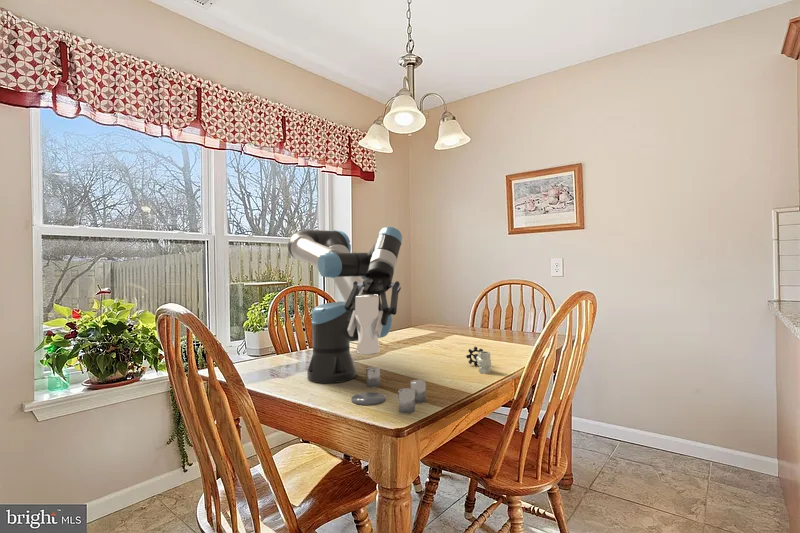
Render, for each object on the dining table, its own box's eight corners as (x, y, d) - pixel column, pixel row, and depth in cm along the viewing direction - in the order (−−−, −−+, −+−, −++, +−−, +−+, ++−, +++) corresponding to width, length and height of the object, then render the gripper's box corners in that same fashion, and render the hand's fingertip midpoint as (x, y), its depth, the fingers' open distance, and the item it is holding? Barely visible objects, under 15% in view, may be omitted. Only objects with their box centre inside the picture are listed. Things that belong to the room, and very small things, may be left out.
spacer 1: (364, 386, 128) (364, 369, 128) (369, 383, 132) (369, 366, 132) (377, 387, 127) (377, 370, 127) (381, 383, 131) (381, 367, 131)
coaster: (346, 403, 113) (346, 401, 113) (358, 393, 122) (358, 391, 122) (379, 406, 111) (379, 403, 111) (389, 395, 120) (389, 393, 120)
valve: (496, 373, 141) (484, 365, 153) (496, 353, 141) (484, 346, 153) (476, 374, 140) (466, 365, 152) (476, 354, 140) (465, 346, 152)
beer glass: (371, 356, 111) (370, 297, 111) (349, 353, 115) (349, 296, 115) (386, 351, 117) (386, 295, 117) (365, 348, 121) (364, 294, 121)
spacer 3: (408, 402, 114) (408, 383, 113) (412, 398, 117) (412, 379, 117) (423, 403, 112) (423, 384, 112) (427, 399, 116) (426, 380, 116)
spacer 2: (396, 412, 106) (396, 392, 106) (400, 407, 110) (400, 387, 110) (412, 414, 105) (412, 393, 105) (416, 408, 109) (416, 388, 109)
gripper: (416, 277, 128) (403, 343, 113) (353, 277, 133) (332, 340, 118) (412, 259, 123) (397, 326, 108) (346, 260, 128) (323, 324, 113)
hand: (363, 333), depth 113 cm, fingers closed on beer glass, 7 cm apart
